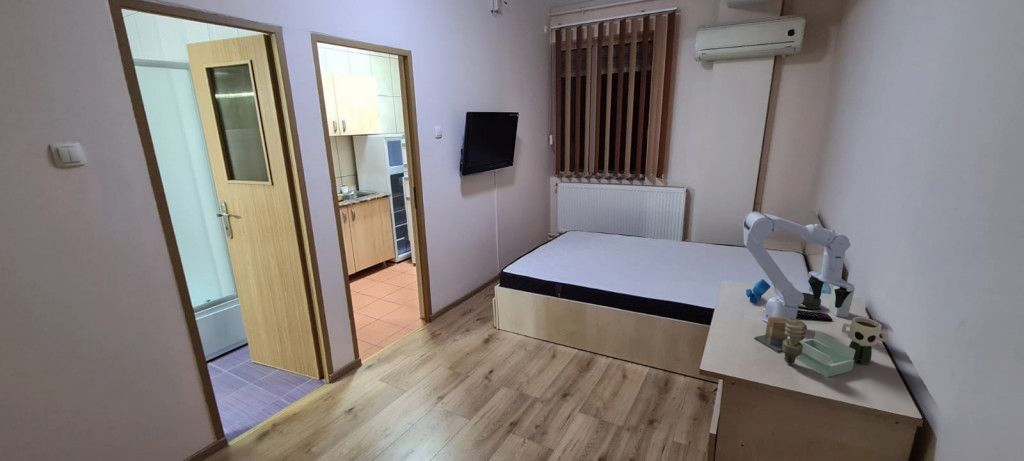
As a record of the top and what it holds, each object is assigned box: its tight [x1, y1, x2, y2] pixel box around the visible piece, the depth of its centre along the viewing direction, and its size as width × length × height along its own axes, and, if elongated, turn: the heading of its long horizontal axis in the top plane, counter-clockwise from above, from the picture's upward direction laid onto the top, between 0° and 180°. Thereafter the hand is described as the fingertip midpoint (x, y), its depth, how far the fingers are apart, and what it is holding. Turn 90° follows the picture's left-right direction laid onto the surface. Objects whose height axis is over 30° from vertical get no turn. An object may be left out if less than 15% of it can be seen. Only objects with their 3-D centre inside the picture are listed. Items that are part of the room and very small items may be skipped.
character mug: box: [841, 316, 889, 365], centre depth 133 cm, size 11×7×13 cm, turn 58°
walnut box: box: [764, 317, 789, 345], centre depth 143 cm, size 4×5×8 cm
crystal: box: [745, 278, 771, 304], centre depth 175 cm, size 7×9×12 cm
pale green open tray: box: [795, 330, 855, 378], centre depth 133 cm, size 13×11×6 cm
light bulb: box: [782, 318, 808, 365], centre depth 131 cm, size 6×6×15 cm
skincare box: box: [828, 285, 856, 318], centre depth 163 cm, size 6×4×12 cm
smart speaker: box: [801, 292, 822, 311], centre depth 171 cm, size 9×9×4 cm
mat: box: [753, 334, 783, 353], centre depth 144 cm, size 9×9×1 cm
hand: (827, 302), depth 151 cm, fingers open, 7 cm apart
